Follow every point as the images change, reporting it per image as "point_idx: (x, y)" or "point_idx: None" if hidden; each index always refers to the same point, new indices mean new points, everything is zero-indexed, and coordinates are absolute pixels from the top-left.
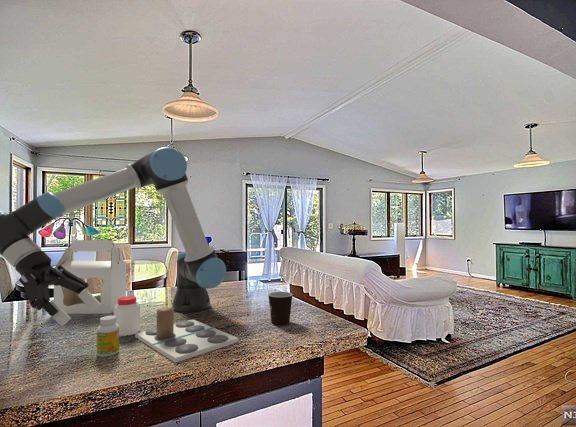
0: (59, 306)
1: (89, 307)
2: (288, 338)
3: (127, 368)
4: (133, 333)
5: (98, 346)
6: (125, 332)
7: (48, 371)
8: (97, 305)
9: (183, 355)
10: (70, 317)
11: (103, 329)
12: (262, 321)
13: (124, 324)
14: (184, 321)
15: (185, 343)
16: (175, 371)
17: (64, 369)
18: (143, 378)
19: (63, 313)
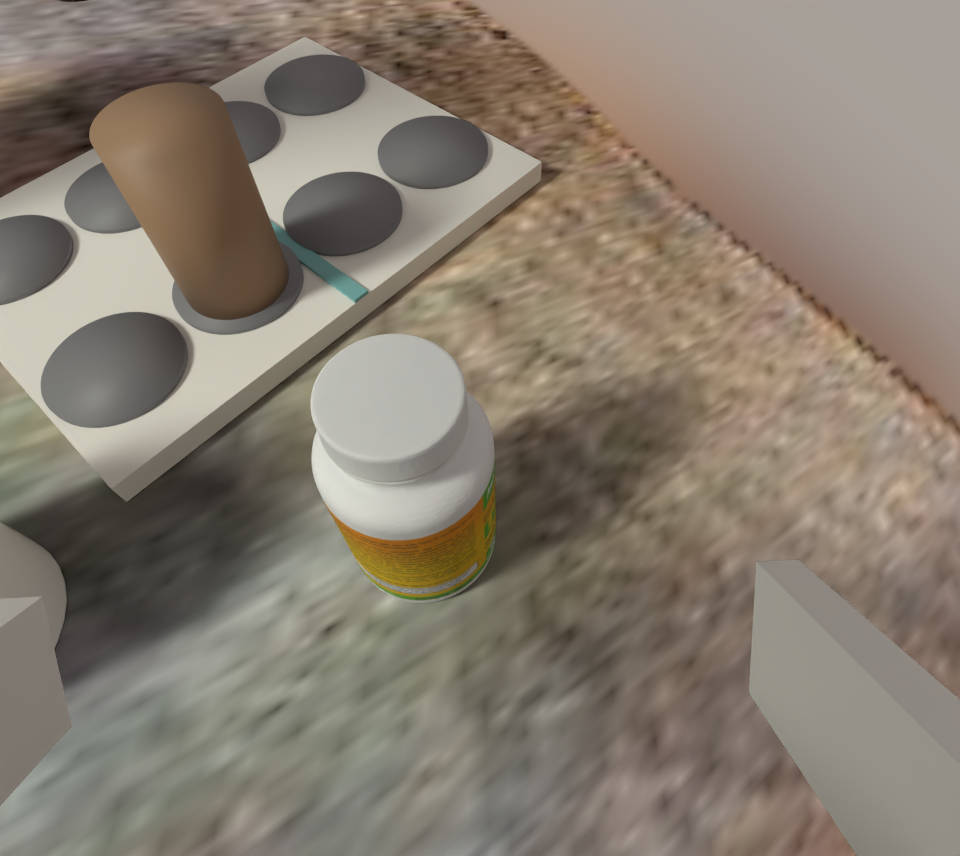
0: (927, 718)
1: (12, 790)
2: None
3: (627, 328)
4: (41, 546)
5: (485, 540)
6: (49, 586)
7: (772, 776)
8: (37, 637)
9: (508, 145)
10: (770, 565)
11: (486, 434)
12: (42, 25)
13: (2, 569)
14: None
15: (357, 175)
16: (620, 159)
17: (714, 671)
18: (707, 232)
19: (865, 626)
